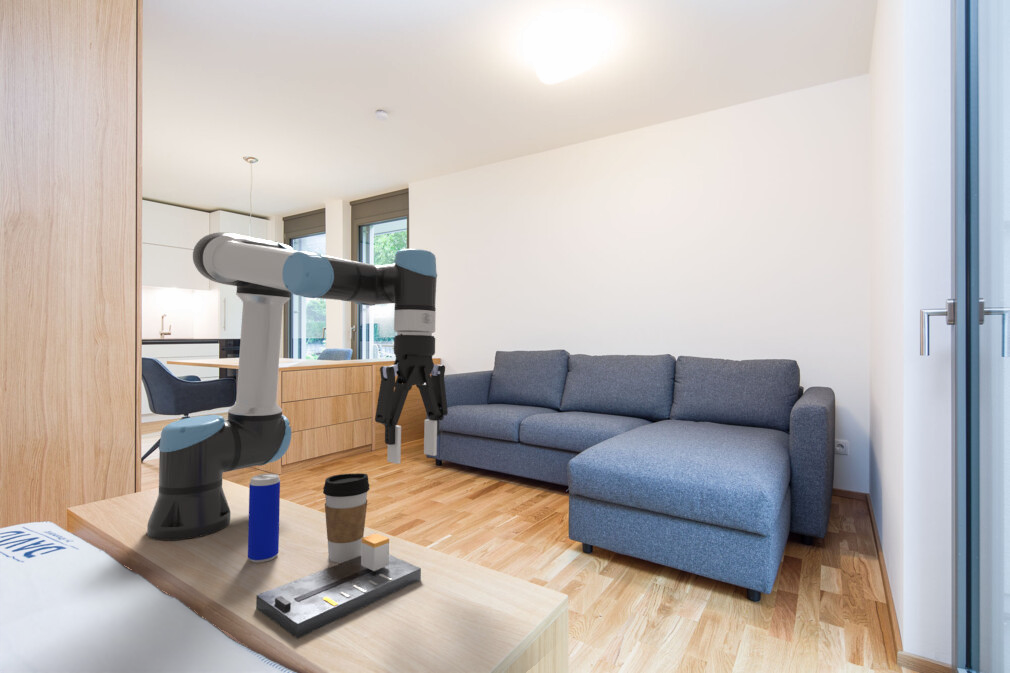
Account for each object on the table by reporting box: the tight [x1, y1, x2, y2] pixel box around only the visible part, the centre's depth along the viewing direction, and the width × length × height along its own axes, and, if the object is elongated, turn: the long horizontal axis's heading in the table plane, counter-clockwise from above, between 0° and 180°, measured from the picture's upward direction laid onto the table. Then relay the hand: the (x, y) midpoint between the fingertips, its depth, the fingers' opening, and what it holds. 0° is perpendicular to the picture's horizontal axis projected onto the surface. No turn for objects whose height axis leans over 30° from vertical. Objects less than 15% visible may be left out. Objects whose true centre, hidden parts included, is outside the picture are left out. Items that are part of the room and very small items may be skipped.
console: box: [255, 554, 422, 640], centre depth 79 cm, size 12×22×3 cm, turn 141°
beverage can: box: [247, 473, 281, 564], centre depth 92 cm, size 5×5×15 cm
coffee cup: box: [322, 472, 371, 564], centre depth 93 cm, size 8×8×15 cm
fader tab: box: [361, 532, 390, 571], centre depth 83 cm, size 4×3×4 cm
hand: (412, 458), depth 90 cm, fingers open, 8 cm apart
